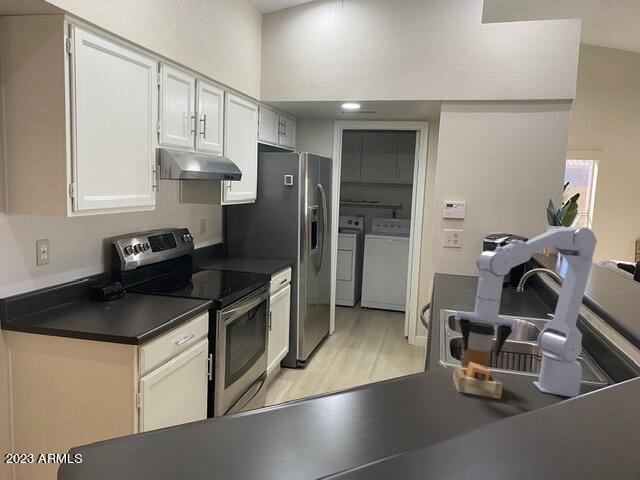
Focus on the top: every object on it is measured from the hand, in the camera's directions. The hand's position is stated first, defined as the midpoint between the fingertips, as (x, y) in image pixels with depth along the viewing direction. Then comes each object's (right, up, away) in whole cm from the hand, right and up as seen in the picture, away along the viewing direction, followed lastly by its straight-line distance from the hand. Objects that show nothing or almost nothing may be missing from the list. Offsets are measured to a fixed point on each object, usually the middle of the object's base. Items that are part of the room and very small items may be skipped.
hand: (480, 352), depth 119 cm
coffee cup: (+1, -10, +10) cm, 14 cm away
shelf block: (-1, -9, 0) cm, 9 cm away
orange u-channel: (-1, -9, 0) cm, 9 cm away
